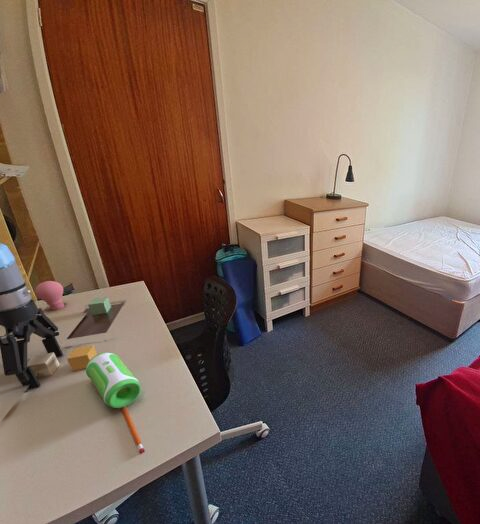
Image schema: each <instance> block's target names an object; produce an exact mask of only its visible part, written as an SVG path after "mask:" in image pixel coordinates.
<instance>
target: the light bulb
mask: <svg viewBox="0 0 480 524" xmlns="http://www.w3.org/2000/svg"><path fill="white" fill-rule="evenodd" d="M34 293H35V296H36V297H37V298H38V299H40V300H42V301H44V303H46V305H47V306H49V309H50V311H51V310H52V311H58V310H61V309H63V308H65V304H64V302H63V299H62V297H63V293H64V287H63V285H62V284H61V283H59V282H58V281H54V280H46V281H43V282H40V283H39V284H38V285H36V286H35V290H34Z"/></svg>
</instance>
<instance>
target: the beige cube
mask: <svg viewBox="0 0 480 524" xmlns="http://www.w3.org/2000/svg"><path fill="white" fill-rule="evenodd" d="M60 365H61V364H60V362H59V360H58V357H56V356H55V354H54V352H53V353H47V352H46V353H42V354H37V355H33V356H31V358H30V359H29V360H27V367H28V366H31V368H32V370H33V372H34V374H35V375H36V374H37V375H36V377H37V379H41V378H46V377H51V376H53V374H54V373H55V372H56V371H57V369H58V368H59V367H60Z"/></svg>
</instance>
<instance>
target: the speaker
mask: <svg viewBox="0 0 480 524" xmlns="http://www.w3.org/2000/svg"><path fill="white" fill-rule="evenodd" d="M85 372H86V373H85V374H86V376H87V377H88V379H90V381H91V382H92V384H93V385H94V387H95V388H96V390H97V392H98V393H99V395H100V396H101V398H102V400H103V403H104V404H105V405H106V406H108V407H111V408H114V409H121V408H122V407H127V406H129V405H131V404H132V403H133V402H135V400H136V399H137V398H138V397H139V395H140V393H141V384H140V381H139V380H138V378H137V377H135V376H134V374H133V373H132V372H131V371H130V370H129V368H128V367H127V366H126V365H125V363H124V362H123V361H122V360H121V358H120V356H118V355H117V354H115V353H113V352H109V351H108V352H107V351H105V352H100V353H97V355H96V356H94V357H93V358H91V359H90V360H89V362H88V363H87V366H86V368H85Z"/></svg>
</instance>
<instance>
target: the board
mask: <svg viewBox="0 0 480 524" xmlns="http://www.w3.org/2000/svg"><path fill="white" fill-rule="evenodd" d="M124 304H125V303H124V302H123V303H116V304H110V305H111V308H110V309H109V311H108V312H107V313H104V314H97V315H92V314H91V311H90V309H89V307H87V308H85V309H84V310H83V312H82V314H84V316H83V318H82V319H81V320H80V321H79V322H78V324H77V325H76V326H75V327H74V328H73V330H72V331H71V333H70V334H69V335H68V336H67V337H66V340H71V339H76V338H77V339H78V338H84V337H88V336H89V337H90V336H95V335H100V334H101V335H102V334H107V333H108V331H109V329H110V327H111V326H112V324H113V323H114V321H115V320H116V318H117V316H118V314H119V313H120V312H121V310H122V308H123V307H124Z"/></svg>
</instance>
